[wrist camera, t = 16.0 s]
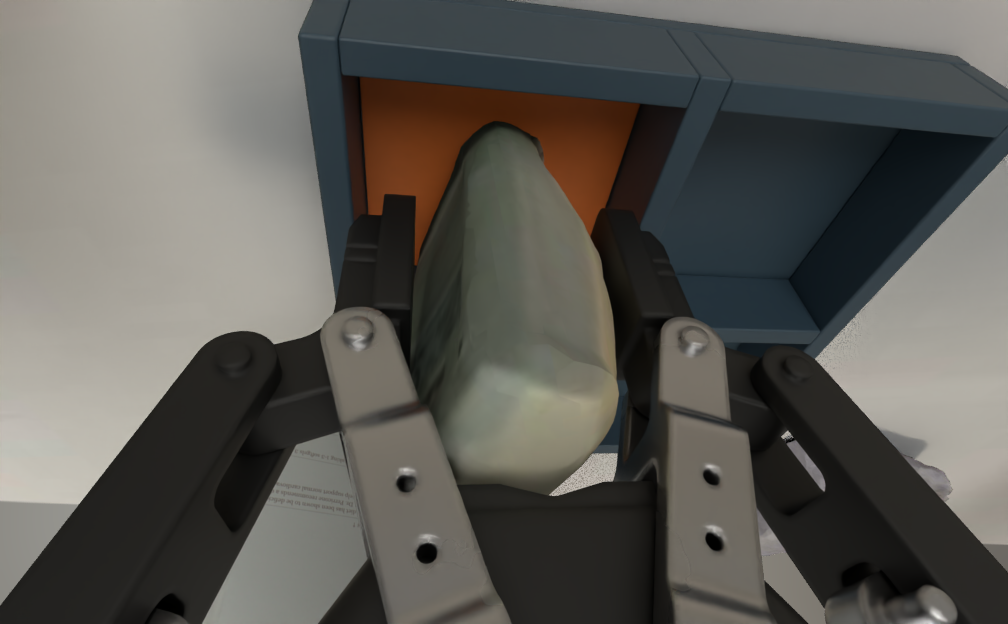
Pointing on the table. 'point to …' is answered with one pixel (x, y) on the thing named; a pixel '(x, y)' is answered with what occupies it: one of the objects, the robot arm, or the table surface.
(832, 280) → the compartment grid tray
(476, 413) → the pale green curved piece
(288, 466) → the white packaging box
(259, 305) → the table surface
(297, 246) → the table surface
